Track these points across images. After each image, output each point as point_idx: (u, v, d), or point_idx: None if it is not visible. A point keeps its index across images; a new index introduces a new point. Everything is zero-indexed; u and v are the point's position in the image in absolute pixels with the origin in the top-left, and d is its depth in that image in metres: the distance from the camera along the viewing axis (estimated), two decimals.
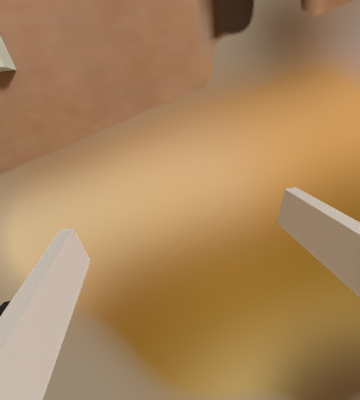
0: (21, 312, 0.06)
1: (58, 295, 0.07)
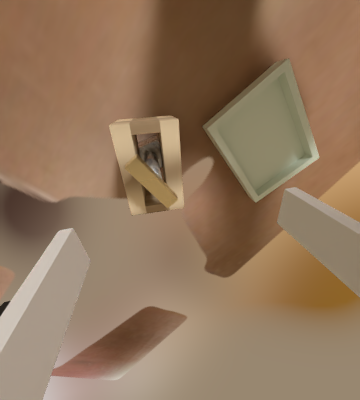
0: (21, 312, 0.06)
1: (58, 295, 0.07)
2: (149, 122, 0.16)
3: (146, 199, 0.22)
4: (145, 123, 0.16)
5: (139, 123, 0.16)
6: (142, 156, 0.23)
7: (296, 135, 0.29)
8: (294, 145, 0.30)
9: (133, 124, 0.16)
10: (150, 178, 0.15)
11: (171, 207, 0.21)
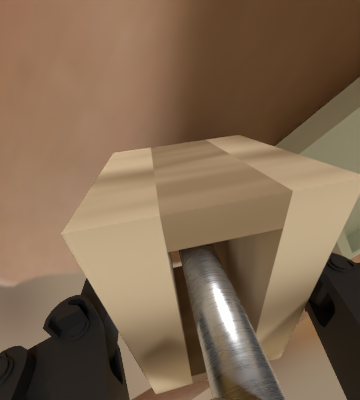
0: None
1: None
2: (248, 199, 0.04)
3: (186, 333, 0.09)
4: (232, 207, 0.03)
5: (206, 209, 0.03)
6: None
7: None
8: None
9: (179, 216, 0.03)
10: None
11: None
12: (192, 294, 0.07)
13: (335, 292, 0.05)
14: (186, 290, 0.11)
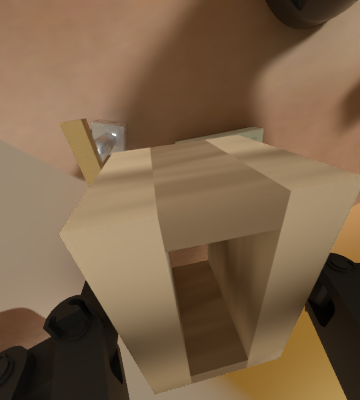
0: None
1: None
2: (246, 200, 0.04)
3: (185, 333, 0.09)
4: (230, 207, 0.03)
5: (204, 209, 0.03)
6: (99, 133, 0.20)
7: None
8: None
9: (177, 216, 0.03)
10: (87, 152, 0.13)
11: (251, 364, 0.08)
12: None
13: (335, 292, 0.05)
14: (185, 290, 0.11)
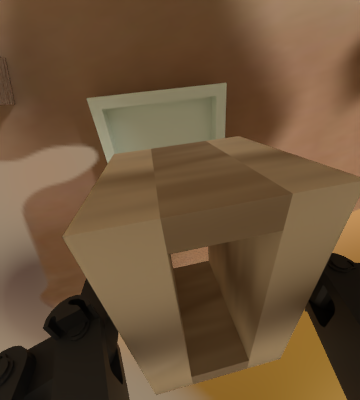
0: None
1: None
2: (248, 202, 0.04)
3: (186, 334, 0.09)
4: (232, 209, 0.03)
5: (206, 212, 0.03)
6: None
7: None
8: None
9: (179, 219, 0.03)
10: None
11: (252, 364, 0.08)
12: None
13: (335, 292, 0.05)
14: (186, 291, 0.11)
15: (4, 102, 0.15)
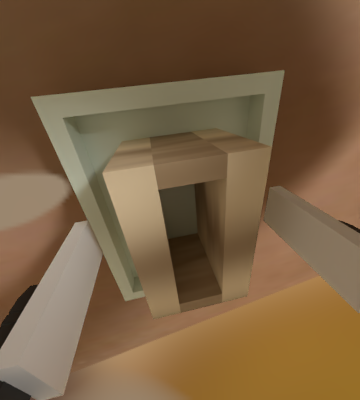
0: (50, 292, 0.06)
1: (78, 281, 0.08)
2: (202, 158, 0.06)
3: (177, 280, 0.12)
4: (193, 162, 0.06)
5: (179, 162, 0.06)
6: None
7: None
8: None
9: (164, 166, 0.06)
10: None
11: (225, 298, 0.11)
12: None
13: None
14: (178, 253, 0.14)
15: None
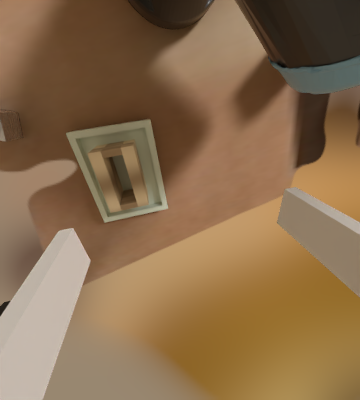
0: (21, 312, 0.06)
1: (58, 295, 0.07)
2: (113, 149, 0.24)
3: (121, 200, 0.30)
4: (111, 150, 0.24)
5: (107, 150, 0.24)
6: None
7: (155, 182, 0.34)
8: (153, 189, 0.35)
9: (103, 151, 0.24)
10: None
11: (139, 205, 0.29)
12: None
13: None
14: (125, 194, 0.32)
15: (17, 137, 0.26)
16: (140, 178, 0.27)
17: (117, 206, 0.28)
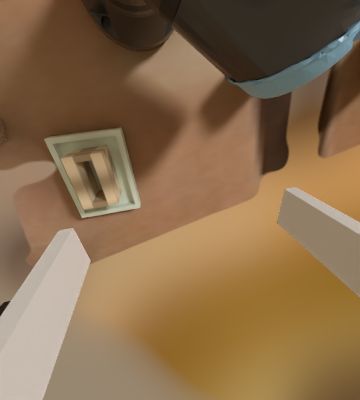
0: (21, 312, 0.06)
1: (58, 295, 0.07)
2: (84, 155, 0.28)
3: (94, 199, 0.34)
4: (81, 156, 0.28)
5: (78, 156, 0.28)
6: None
7: (128, 184, 0.38)
8: (127, 190, 0.39)
9: (74, 157, 0.28)
10: None
11: (109, 204, 0.33)
12: None
13: None
14: (100, 193, 0.36)
15: (1, 140, 0.30)
16: (109, 180, 0.31)
17: (89, 204, 0.32)
